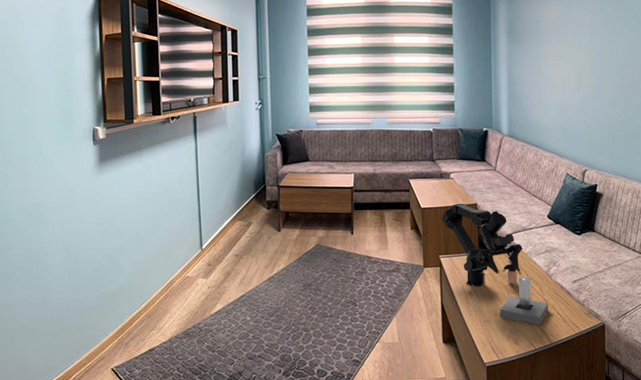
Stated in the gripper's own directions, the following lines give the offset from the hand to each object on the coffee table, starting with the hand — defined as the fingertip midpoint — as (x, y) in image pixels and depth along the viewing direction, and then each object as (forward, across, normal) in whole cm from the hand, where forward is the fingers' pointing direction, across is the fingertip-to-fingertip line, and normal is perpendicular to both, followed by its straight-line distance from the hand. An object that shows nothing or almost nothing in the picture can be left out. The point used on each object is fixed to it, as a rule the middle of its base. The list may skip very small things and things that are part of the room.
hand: (508, 271), depth 204 cm
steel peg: (+17, 0, +2) cm, 17 cm away
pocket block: (+17, 0, +2) cm, 17 cm away
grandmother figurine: (-2, +13, +21) cm, 25 cm away
